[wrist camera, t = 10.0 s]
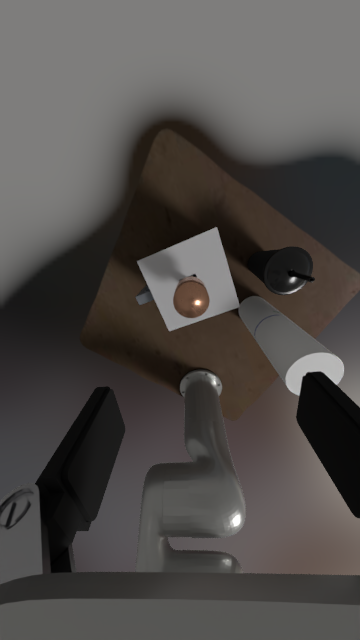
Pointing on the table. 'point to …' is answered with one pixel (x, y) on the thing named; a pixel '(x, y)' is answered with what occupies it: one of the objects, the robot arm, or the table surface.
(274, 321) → the cylindrical container
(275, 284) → the drinking cup
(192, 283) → the copper piston
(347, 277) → the table surface
